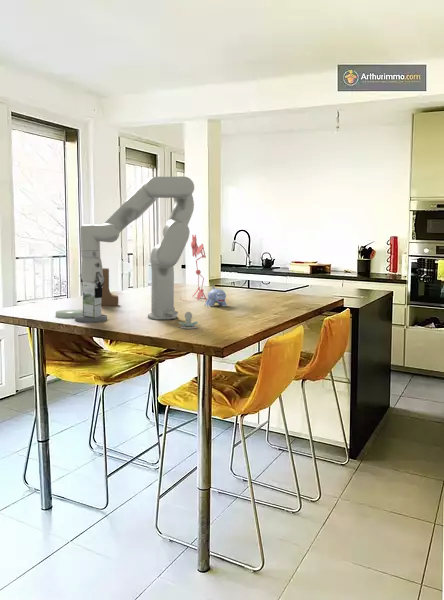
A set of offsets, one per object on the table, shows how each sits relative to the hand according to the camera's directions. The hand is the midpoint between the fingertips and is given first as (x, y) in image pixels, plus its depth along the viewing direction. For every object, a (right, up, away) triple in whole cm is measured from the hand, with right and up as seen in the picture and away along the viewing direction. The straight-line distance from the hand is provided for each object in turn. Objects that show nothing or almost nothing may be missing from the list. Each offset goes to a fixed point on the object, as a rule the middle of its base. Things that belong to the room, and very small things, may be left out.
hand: (92, 296), depth 218 cm
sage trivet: (-12, -9, +10) cm, 18 cm away
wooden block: (-2, -4, +41) cm, 41 cm away
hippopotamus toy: (+51, -5, +47) cm, 69 cm away
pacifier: (+40, -13, -11) cm, 44 cm away
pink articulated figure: (+38, -1, +71) cm, 80 cm away
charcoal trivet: (-1, -10, +1) cm, 10 cm away
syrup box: (0, -8, +1) cm, 8 cm away
